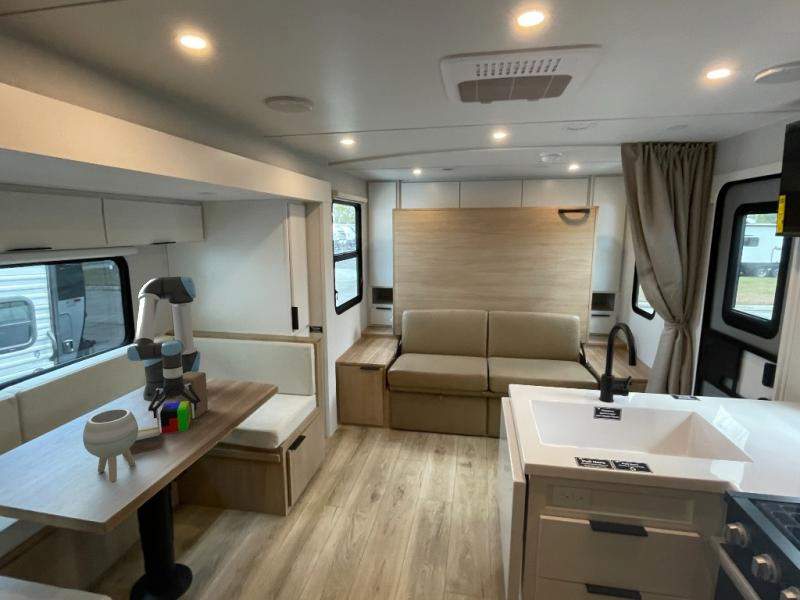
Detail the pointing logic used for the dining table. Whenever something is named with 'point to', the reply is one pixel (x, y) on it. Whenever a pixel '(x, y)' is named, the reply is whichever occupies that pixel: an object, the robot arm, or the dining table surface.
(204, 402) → the wooden block
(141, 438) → the dock
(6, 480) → the dining table surface
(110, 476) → the planter
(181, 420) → the puzzle toy
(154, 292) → the robot arm
